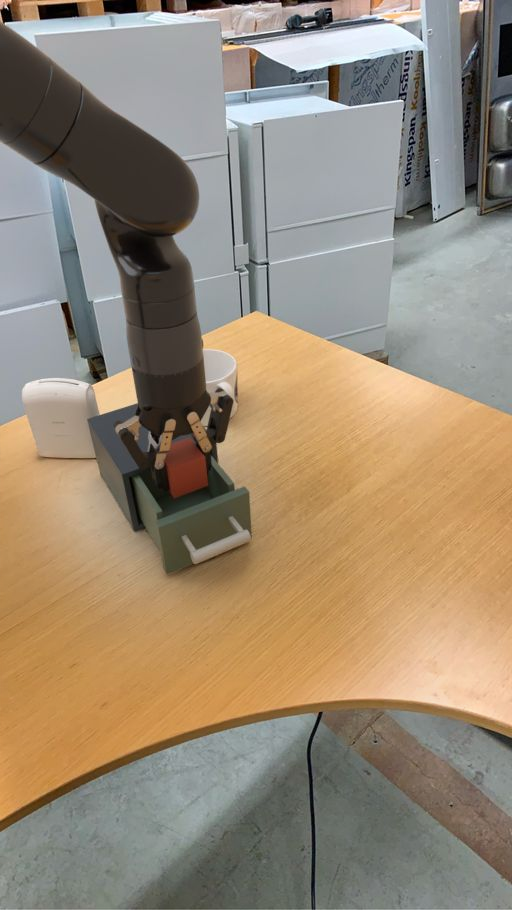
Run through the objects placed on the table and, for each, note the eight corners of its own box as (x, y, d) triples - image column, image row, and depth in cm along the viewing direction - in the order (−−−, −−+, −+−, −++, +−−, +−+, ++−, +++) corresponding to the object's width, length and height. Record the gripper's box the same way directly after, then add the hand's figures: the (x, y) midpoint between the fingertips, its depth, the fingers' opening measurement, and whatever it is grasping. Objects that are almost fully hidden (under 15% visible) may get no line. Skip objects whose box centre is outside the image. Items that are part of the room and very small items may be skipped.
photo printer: (35, 459, 96) (13, 388, 89) (45, 441, 100) (24, 371, 92) (103, 461, 95) (86, 389, 88) (111, 443, 99) (95, 373, 91)
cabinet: (221, 497, 88) (216, 441, 82) (133, 532, 84) (121, 474, 78) (180, 445, 98) (173, 391, 92) (100, 473, 93) (86, 418, 87)
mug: (163, 405, 106) (156, 362, 101) (218, 384, 111) (215, 342, 106) (204, 445, 98) (199, 400, 93) (262, 421, 102) (261, 377, 97)
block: (174, 498, 76) (169, 469, 73) (159, 477, 79) (154, 448, 76) (208, 485, 77) (205, 456, 75) (192, 465, 80) (189, 437, 78)
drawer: (269, 560, 78) (267, 512, 73) (181, 599, 74) (173, 551, 69) (208, 482, 89) (203, 437, 85) (129, 512, 85) (119, 466, 81)
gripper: (212, 322, 73) (222, 445, 83) (88, 356, 67) (115, 482, 78) (244, 350, 67) (251, 477, 78) (112, 389, 62) (138, 520, 73)
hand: (183, 479), depth 78 cm, fingers closed on block, 4 cm apart
